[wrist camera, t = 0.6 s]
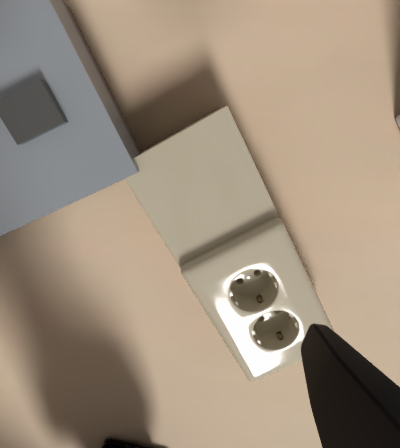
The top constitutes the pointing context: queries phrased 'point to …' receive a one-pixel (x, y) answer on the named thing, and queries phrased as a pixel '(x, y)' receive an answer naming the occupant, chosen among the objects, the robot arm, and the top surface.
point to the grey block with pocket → (54, 115)
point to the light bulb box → (398, 120)
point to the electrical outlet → (229, 242)
